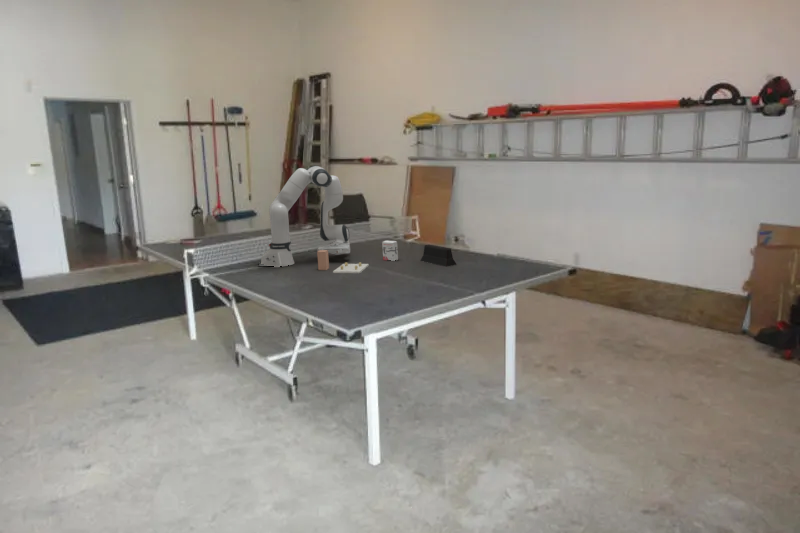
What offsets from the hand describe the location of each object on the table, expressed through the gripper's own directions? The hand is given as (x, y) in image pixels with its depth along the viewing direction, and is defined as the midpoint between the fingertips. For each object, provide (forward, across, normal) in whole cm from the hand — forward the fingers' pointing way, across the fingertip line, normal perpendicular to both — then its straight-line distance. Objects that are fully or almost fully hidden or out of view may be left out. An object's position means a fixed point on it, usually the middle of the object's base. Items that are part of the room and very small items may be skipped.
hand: (330, 252), depth 349 cm
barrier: (-7, +66, +9) cm, 67 cm away
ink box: (-13, +35, +8) cm, 38 cm away
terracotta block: (+13, 0, +8) cm, 15 cm away
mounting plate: (+13, +17, +8) cm, 22 cm away
